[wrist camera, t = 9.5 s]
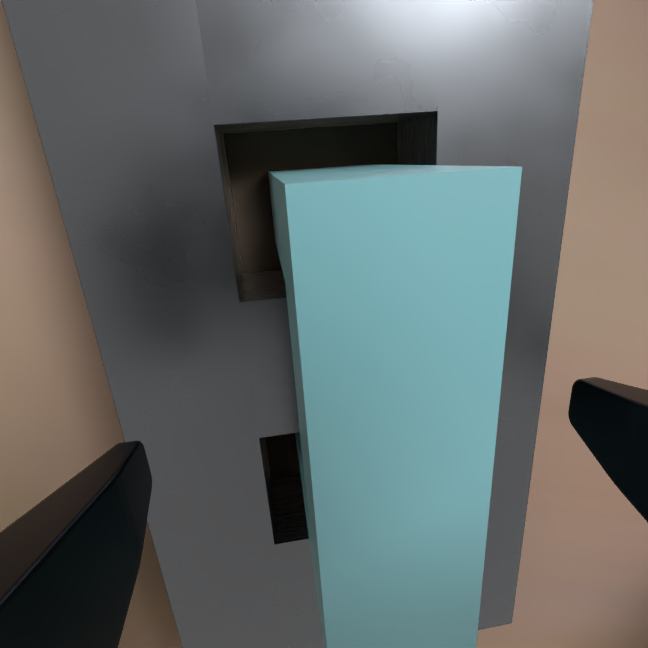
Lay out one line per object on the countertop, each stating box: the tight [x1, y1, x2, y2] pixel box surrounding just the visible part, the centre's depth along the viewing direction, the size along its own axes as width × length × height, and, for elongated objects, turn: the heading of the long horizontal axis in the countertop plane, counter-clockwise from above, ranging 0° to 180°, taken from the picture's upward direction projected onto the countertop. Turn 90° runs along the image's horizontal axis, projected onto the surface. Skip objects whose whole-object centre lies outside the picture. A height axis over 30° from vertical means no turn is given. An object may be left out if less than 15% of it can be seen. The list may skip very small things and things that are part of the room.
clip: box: [268, 164, 522, 648], centre depth 11 cm, size 3×10×8 cm, turn 3°
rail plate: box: [2, 0, 593, 648], centre depth 13 cm, size 12×24×3 cm, turn 4°
